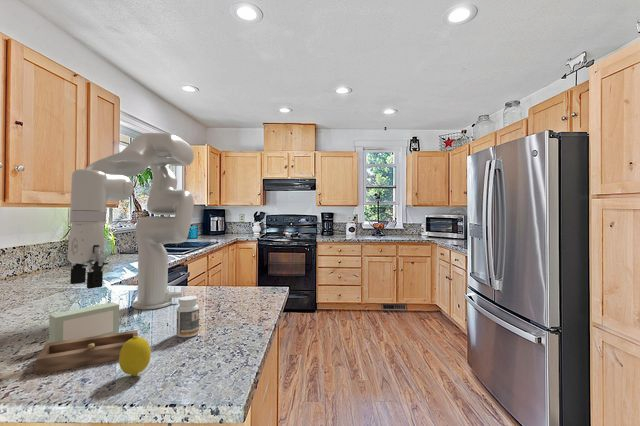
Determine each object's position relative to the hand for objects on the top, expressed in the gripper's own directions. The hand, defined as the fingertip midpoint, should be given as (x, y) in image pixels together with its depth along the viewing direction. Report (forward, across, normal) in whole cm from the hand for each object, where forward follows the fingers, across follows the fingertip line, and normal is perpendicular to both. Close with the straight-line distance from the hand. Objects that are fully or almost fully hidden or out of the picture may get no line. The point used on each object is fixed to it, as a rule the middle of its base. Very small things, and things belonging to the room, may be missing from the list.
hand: (86, 285), depth 83 cm
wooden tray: (+14, +11, -2) cm, 18 cm away
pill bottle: (+14, +16, +18) cm, 28 cm away
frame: (+14, -1, +1) cm, 14 cm away
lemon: (+15, +28, -2) cm, 32 cm away
